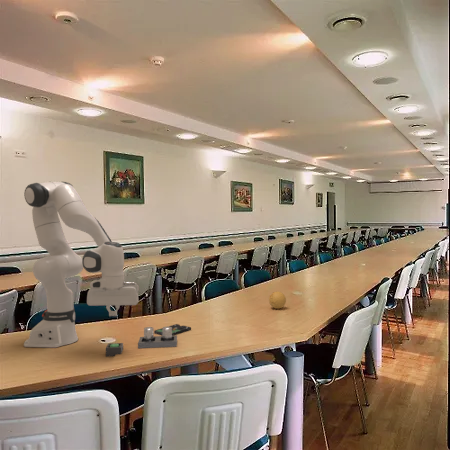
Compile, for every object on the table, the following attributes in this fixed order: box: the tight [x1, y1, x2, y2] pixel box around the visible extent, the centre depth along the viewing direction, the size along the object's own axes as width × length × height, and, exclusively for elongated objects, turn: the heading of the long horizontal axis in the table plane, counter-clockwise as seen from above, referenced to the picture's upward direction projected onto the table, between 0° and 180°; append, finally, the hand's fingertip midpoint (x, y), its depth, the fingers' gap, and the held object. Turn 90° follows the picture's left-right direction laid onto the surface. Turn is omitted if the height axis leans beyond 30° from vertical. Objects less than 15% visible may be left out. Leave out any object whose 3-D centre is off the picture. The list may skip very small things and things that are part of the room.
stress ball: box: [268, 291, 287, 310], centre depth 253 cm, size 10×10×10 cm
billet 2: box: [162, 325, 172, 341], centre depth 186 cm, size 4×4×7 cm
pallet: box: [137, 334, 178, 349], centre depth 186 cm, size 16×9×3 cm, turn 95°
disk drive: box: [154, 323, 192, 336], centre depth 205 cm, size 10×3×15 cm
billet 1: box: [143, 326, 155, 342], centre depth 185 cm, size 4×4×7 cm
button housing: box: [105, 342, 124, 358], centre depth 176 cm, size 6×6×4 cm
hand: (113, 315), depth 176 cm, fingers closed
